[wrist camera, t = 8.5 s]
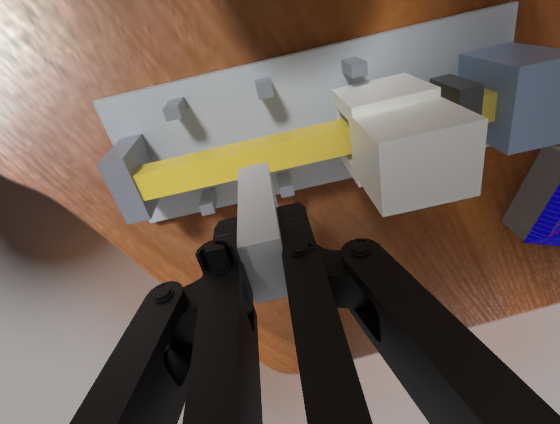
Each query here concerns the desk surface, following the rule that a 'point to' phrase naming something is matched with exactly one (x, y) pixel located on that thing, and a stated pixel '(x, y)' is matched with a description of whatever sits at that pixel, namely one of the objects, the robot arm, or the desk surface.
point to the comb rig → (316, 111)
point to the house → (538, 201)
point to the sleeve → (410, 143)
